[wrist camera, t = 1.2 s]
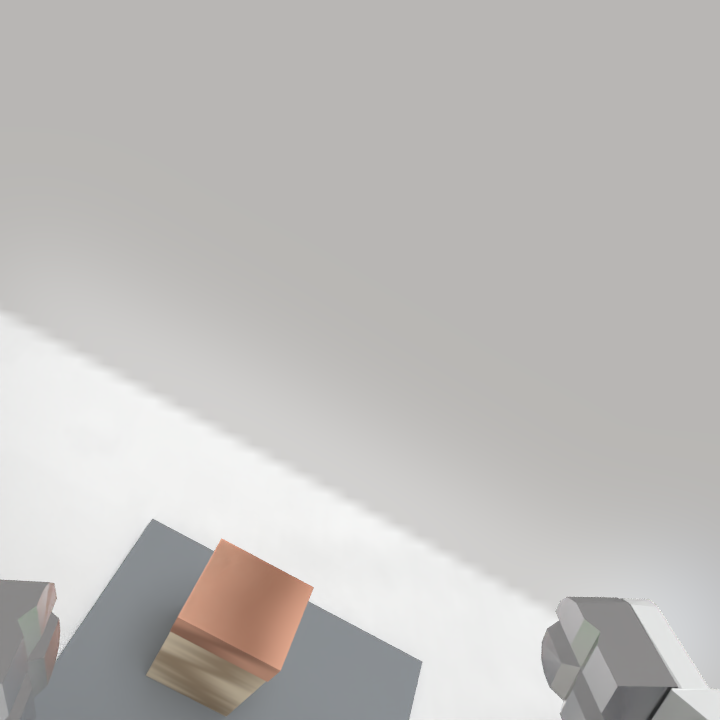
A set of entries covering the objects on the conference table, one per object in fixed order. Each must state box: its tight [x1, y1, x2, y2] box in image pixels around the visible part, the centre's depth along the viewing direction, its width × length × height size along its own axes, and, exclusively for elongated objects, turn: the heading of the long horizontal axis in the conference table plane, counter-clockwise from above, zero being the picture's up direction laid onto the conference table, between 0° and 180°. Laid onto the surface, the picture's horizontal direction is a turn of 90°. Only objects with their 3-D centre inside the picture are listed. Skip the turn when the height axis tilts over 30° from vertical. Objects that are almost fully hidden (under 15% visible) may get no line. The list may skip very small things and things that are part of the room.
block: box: [146, 539, 314, 716], centre depth 31 cm, size 5×4×10 cm
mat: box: [34, 519, 422, 720], centre depth 35 cm, size 20×12×1 cm, turn 71°
